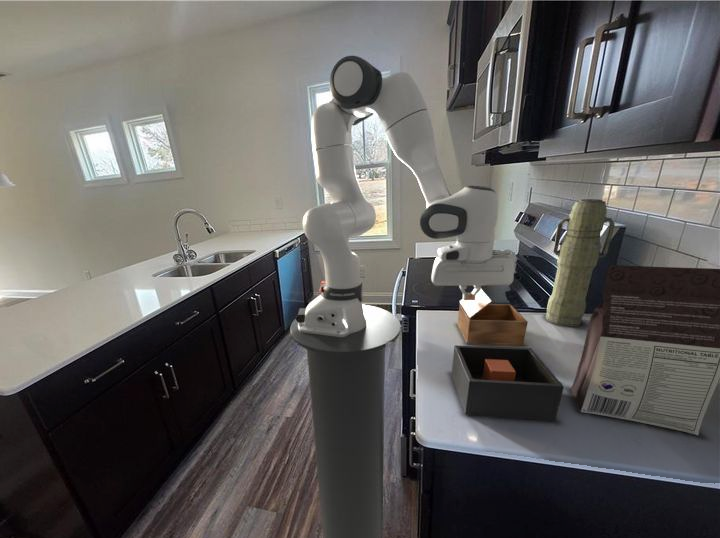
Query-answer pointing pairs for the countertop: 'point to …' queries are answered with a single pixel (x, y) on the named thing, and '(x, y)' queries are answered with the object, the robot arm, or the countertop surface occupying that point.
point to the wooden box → (493, 325)
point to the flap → (476, 303)
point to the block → (498, 370)
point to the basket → (506, 384)
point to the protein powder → (653, 347)
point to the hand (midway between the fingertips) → (468, 299)
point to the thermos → (577, 260)
